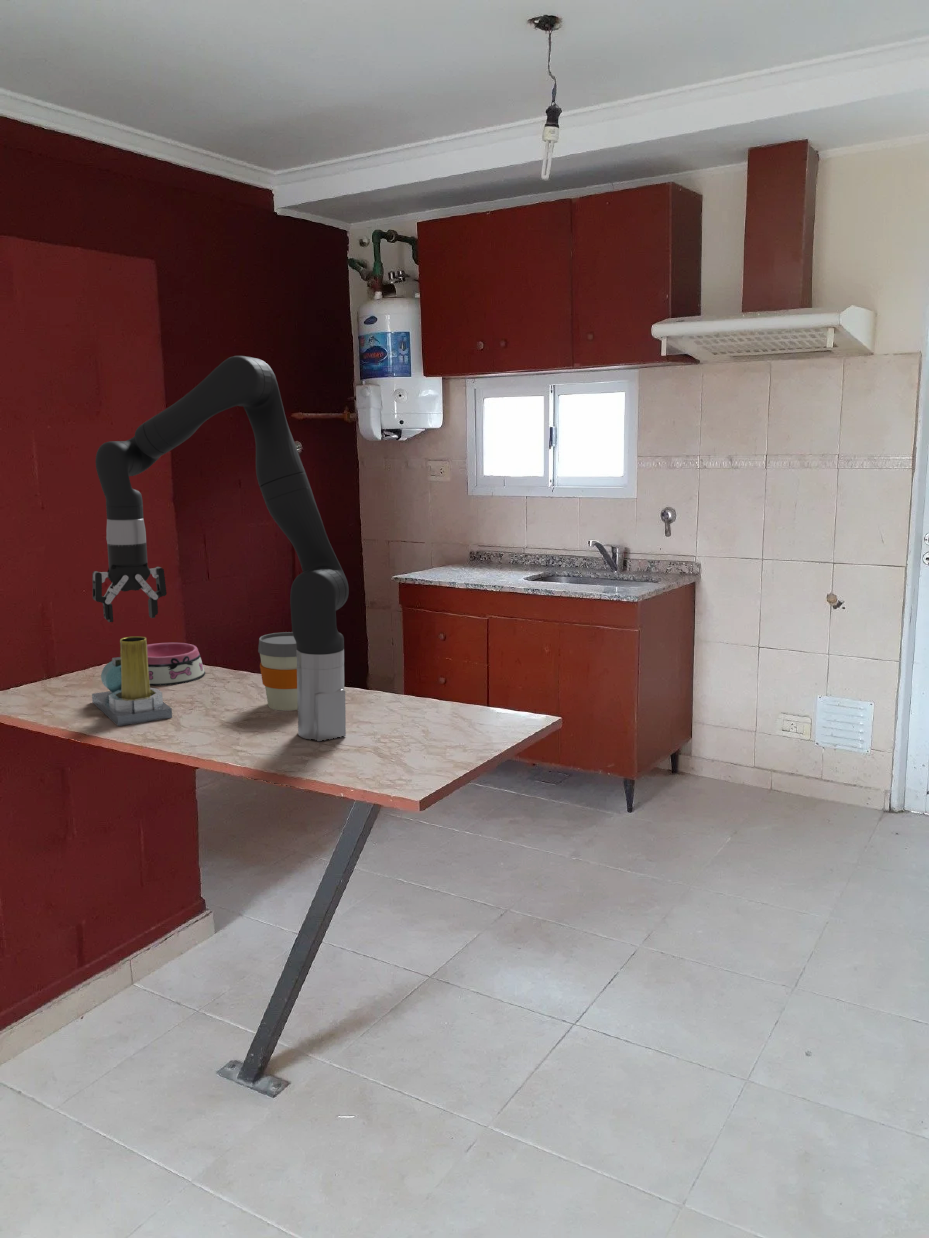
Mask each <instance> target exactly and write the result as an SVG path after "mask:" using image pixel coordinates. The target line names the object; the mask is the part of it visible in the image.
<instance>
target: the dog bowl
mask: <svg viewBox="0 0 929 1238" xmlns="http://www.w3.org/2000/svg"><path fill="white" fill-rule="evenodd" d="M147 655H148V672H149V684H150V687H152V686H153V687H155V686H156V687H157V686H160V687H161V686H173V685H181V684H186V683H190V682H191V683H192V682H194V681H198V680H200V679H202V678H204V676H206V671H205V668H204V665H203V664H204V663H203V661H202V657H201V654H200V652H199V648H198V647H197V645H194V644H190V643H185V642H159V643H150V644H147Z"/></svg>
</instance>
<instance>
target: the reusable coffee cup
mask: <svg viewBox="0 0 929 1238" xmlns="http://www.w3.org/2000/svg"><path fill="white" fill-rule="evenodd" d="M257 650H258V651H257V652H258V654H259V657H260V663H259V669H260V676H261V680H262V685H263V686H264V688H265V696H266V700H267V706H268V708H270V709H271V710H274V711H284V712H285V711H298V705H297V651H296V650H297V649H296V641H295V638H294V636H293V632H292V631H291V632H290V631H288V632H287V631H285V632H284V631H283V632H273V633H268V634H264V635H261V636H260V637H259V639H258V649H257Z"/></svg>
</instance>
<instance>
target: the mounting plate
mask: <svg viewBox="0 0 929 1238" xmlns="http://www.w3.org/2000/svg"><path fill="white" fill-rule="evenodd" d="M100 679H101V682H102V685H103V686H104V687H105V688H106V689H107V690H109V691H101V692H95V693H91V701H92V704H93V705H94V706H96V707H97V708H98V709H99V710H100V711H101V712H102V713H103V714H104V715H105V716H107V718H108V719H110V721H112V722H113V723H114V724H115V725H116V726H118V727H122V726H129V725H136V724H141V723H147V722H152V721H160V720H165V719H172V718H173V708H172V707H171V706H169V705H168V704H167V703H165V702H164V698H163V691H161V690H160V689H158V688H156V687H150V694H151V696H150V697H146V698H139V699H122V687H121V656H119V657H112V658H111V661H109V662H108V663H107V664H105V665H104V667H103V668H102V671H101V675H100Z"/></svg>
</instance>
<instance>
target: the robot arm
mask: <svg viewBox="0 0 929 1238" xmlns="http://www.w3.org/2000/svg"><path fill="white" fill-rule="evenodd" d="M280 391H281V390H280V388H279V384H278V381H277V377H276V374H275V373H274V371H273V369H272V368H271V365H269V364H268V363H266V361H264V360H262V359H260V358H258V357H257V358H256V357H251V356H245V355H234V356H230V357H228V358H226V359H225V360H224V361H222V362H221V363H220V364H219V365H217V366H216V367H215V368H214V369H213V370H212V371H211V372H210V373H209V374H208V375H207V376H206V377H205V378H204V379H202V381H200V382H199V383H198V384H197V385H196V386H194V388H192V389H191V390H190V391H189V392H187V393H186V394H184V395H183V397H181V398H180V399H178V400H177V401H176V402H174V403H172V405H170V406H168V407H167V408H165V409H163V410H162V411H160V412H159V413H156V414H155V415H154V416H152V417H151V418H149V419H147V420H146V421H145V422H142V424H140V425H139V426H138V427H137V428H136V430H135V433H134V435H133V437H131V438H129V439H127V440H120V441H119V440H117V441H115V440H114V441H113V440H112V441H105V442H104V443H102V444H101V445H100V446H99V447H98V449H97V451H96V454H95V470H96V474H97V477H98V479H99V483H100V486H101V490H102V492H103V495H104V497H105V507H106V509H105V510H106V511H105V512H106V532H105V533H106V536H105V539H106V543H107V558H108V559H107V561H108V569H107V571H102V572H101V571H98V570H94V571H93V572H92V574H91V575H92V580H91V581H92V599H93V600H94V601H95V602H97V603H102V611H103V618H104V619H105V620H106V621H107V622H108V623H113V622H114V612H113V611H114V610H113V603H112V602H113V600H114V599H115V597H116V596H118V595H119V593H120V592H121V591H122V592H129V591H140V590H142V591H143V592H144V593H145V594H146V595H147V596H148V599H147V605H148V606H147V607H148V617H149V618H151V619H155V618H156V616H157V615H158V613H159V605H158V600H159V599H160V598H162V597H165V596H166V595H167V593H168V592H167V585H166V578H165V570H164V568H163V567H161V566H156V567H153V568H152V567H151V568H150V567H149V564H148V550H147V548H148V547H147V545H148V544H147V532H146V531H147V530H146V525H145V520H144V503H143V497H142V496H143V495H142V493H141V492H140V490H138V489H134V488H133V487H132V484H131V480H130V477H134V476H137V475H140V474H142V473H143V472H146V471H147V470H148V469H149V468H151V467H152V466H153V465H154V464H155V463H156V462H157V461H158V460H159V459H160V458H161V457H162V456H164V455H165V454H167V453H169V452H170V451H172V450H173V449H175V448H177V447H179V446H180V445H181V444H182V443H184V442H186V441H187V440H189V438H191V437H192V436H193V435H194V434H195V433H196V431H198V429H199V428H200V427H201V426H202V425H203V424H204V423H205V422H207V420H209V419H211V418H213V416H215V415H217V414H219V413H223V412H224V411H226V410H228V409H232V408H235V407H237V406H238V407H243V409H244V411H245V412H246V413H245V414H246V415H247V418H248V420H249V423H250V426H251V428H252V432H253V435H254V441H255V442H254V443H255V474H256V479H257V483H258V486H259V489H260V492H261V495H262V498H263V500H264V503H265V507H266V508H267V510H268V512H269V515H270V516H271V517H272V519H273V521H274V522H275V523H276V524H277V526H278V527H279V528H280V530H281V531H282V533H283V534H284V535H285V536H286V537H287V539H288V540H289V541H290V543H291V544H292V547H293V549H294V551H295V553H296V555H297V557H298V561H299V563H300V567H301V570H302V572H301V573H299V574H298V575H297V576H296V577H295V579H294V580H293V582H292V584H291V587H290V588H291V589H290V594H289V595H290V597H289V598H290V600H289V601H290V603H289V604H290V619H291V632H293V636H294V638H295V641H296V649H297V650H296V651H297V705H298V710H297V731H298V732H297V734H298V736H299V737H301V738H303V739H305V740H306V739H307V740H311V739H315V740H314V741H316V740H317V741H316V742H323V741H322V740H324V741H326V740H325V739H329V740H334V739H338V738H337V737H340V736H345V737H346V736H347V735H346V734H347V730H346V728H347V726H346V724H347V723H346V721H347V719H346V716H347V715H346V711H347V710H346V690H345V637H344V634H342V633H341V632H339V631H338V626H337V611H338V610H339V609H341V608H342V607H343V606H344V605H345V604H346V602H347V601H348V598H349V593H350V591H349V583H348V579H347V577H346V575H345V573H344V570H343V568H342V565H341V564H340V561H339V559H338V558H337V555H336V553H335V551H334V548H333V547H332V544H331V543H330V540H329V537H328V534H327V531H326V529H325V526H324V522H323V520H322V517H321V514H320V511H319V508H318V506H317V503H316V499H315V496H314V494H313V490H312V488H311V487H312V486H311V484H310V481H309V479H308V476H307V472H306V470H305V468H304V466H303V465H304V464H303V462H302V459H301V456H300V453H299V452H298V448H297V446H296V443H295V440H294V438H293V435H292V432H291V430H290V427H289V424H288V421H287V417H286V414H285V413H286V412H285V408H284V405H283V401H282V396H281V392H280ZM151 575H152V577H153V579H155V585H156V590H155V591H154V590H153V588H152V587H151V586H150V584H148V582H147V581H148V579H149V577H150V576H151ZM107 578H108V580H109V581H110V582H111V584H110V585H109V586H108V588H107V590H106V592H105V594H104V596H103V583H105V582H106V579H107ZM333 738H334V739H333ZM340 738H341V737H340Z"/></svg>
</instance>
